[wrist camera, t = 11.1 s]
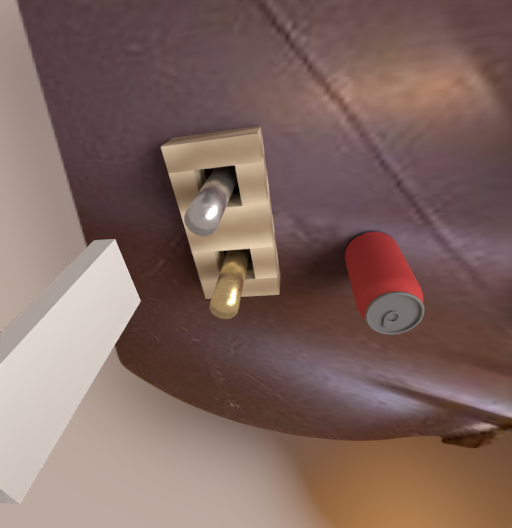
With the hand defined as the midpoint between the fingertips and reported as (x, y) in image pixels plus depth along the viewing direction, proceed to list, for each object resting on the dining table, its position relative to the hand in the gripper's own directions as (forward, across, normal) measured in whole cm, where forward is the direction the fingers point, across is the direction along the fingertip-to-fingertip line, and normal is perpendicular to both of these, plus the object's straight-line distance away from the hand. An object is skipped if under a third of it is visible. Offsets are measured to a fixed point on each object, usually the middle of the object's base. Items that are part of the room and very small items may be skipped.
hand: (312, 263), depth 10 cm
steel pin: (+28, -9, -6) cm, 30 cm away
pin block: (+28, -9, -11) cm, 31 cm away
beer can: (+28, +8, -17) cm, 34 cm away
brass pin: (+28, -9, -16) cm, 33 cm away
